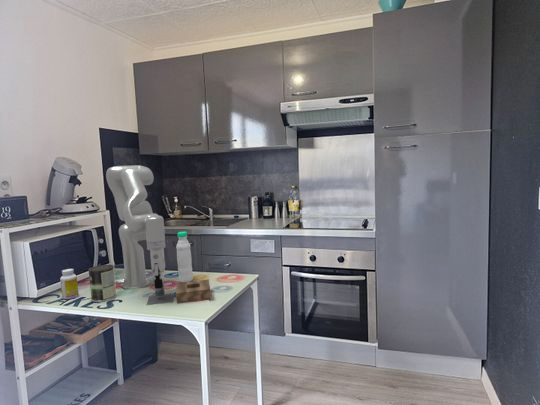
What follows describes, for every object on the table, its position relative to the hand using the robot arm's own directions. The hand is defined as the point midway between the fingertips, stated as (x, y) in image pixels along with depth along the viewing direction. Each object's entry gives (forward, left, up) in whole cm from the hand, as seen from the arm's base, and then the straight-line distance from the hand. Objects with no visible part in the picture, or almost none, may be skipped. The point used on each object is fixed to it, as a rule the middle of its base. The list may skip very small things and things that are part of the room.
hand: (159, 285), depth 152 cm
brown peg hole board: (+14, -2, -6) cm, 16 cm away
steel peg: (0, 0, -4) cm, 4 cm away
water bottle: (+10, +24, -6) cm, 27 cm away
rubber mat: (0, -1, -6) cm, 6 cm away
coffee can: (-26, +12, -7) cm, 29 cm away
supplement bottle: (-42, +19, -6) cm, 46 cm away
